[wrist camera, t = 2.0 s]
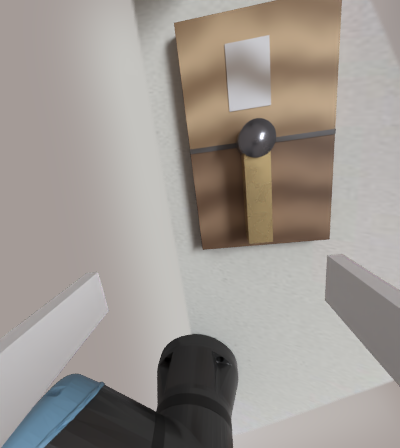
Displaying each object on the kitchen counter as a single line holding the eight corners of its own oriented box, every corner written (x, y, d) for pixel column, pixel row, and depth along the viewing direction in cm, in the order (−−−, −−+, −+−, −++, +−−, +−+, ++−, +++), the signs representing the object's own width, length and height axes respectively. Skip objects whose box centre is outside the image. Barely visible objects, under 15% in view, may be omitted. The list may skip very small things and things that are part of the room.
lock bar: (235, 127, 23) (237, 121, 20) (268, 122, 23) (275, 115, 20) (242, 237, 27) (245, 245, 24) (271, 235, 26) (278, 242, 23)
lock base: (321, 234, 28) (329, 239, 26) (203, 244, 30) (202, 249, 28) (331, 2, 21) (343, -16, 19) (177, 35, 23) (173, 22, 21)
